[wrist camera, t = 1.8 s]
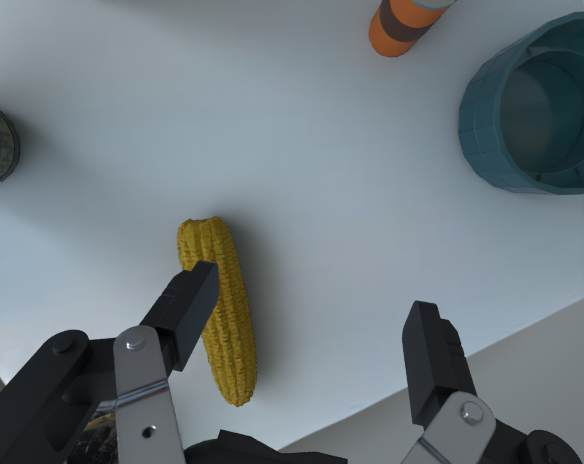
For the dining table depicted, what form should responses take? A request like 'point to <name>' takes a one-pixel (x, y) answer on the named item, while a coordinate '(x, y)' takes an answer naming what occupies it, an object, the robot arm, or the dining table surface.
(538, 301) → the dining table surface
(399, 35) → the tube
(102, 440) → the lantern
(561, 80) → the bowl
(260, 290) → the dining table surface
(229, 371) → the food
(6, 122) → the thermos
